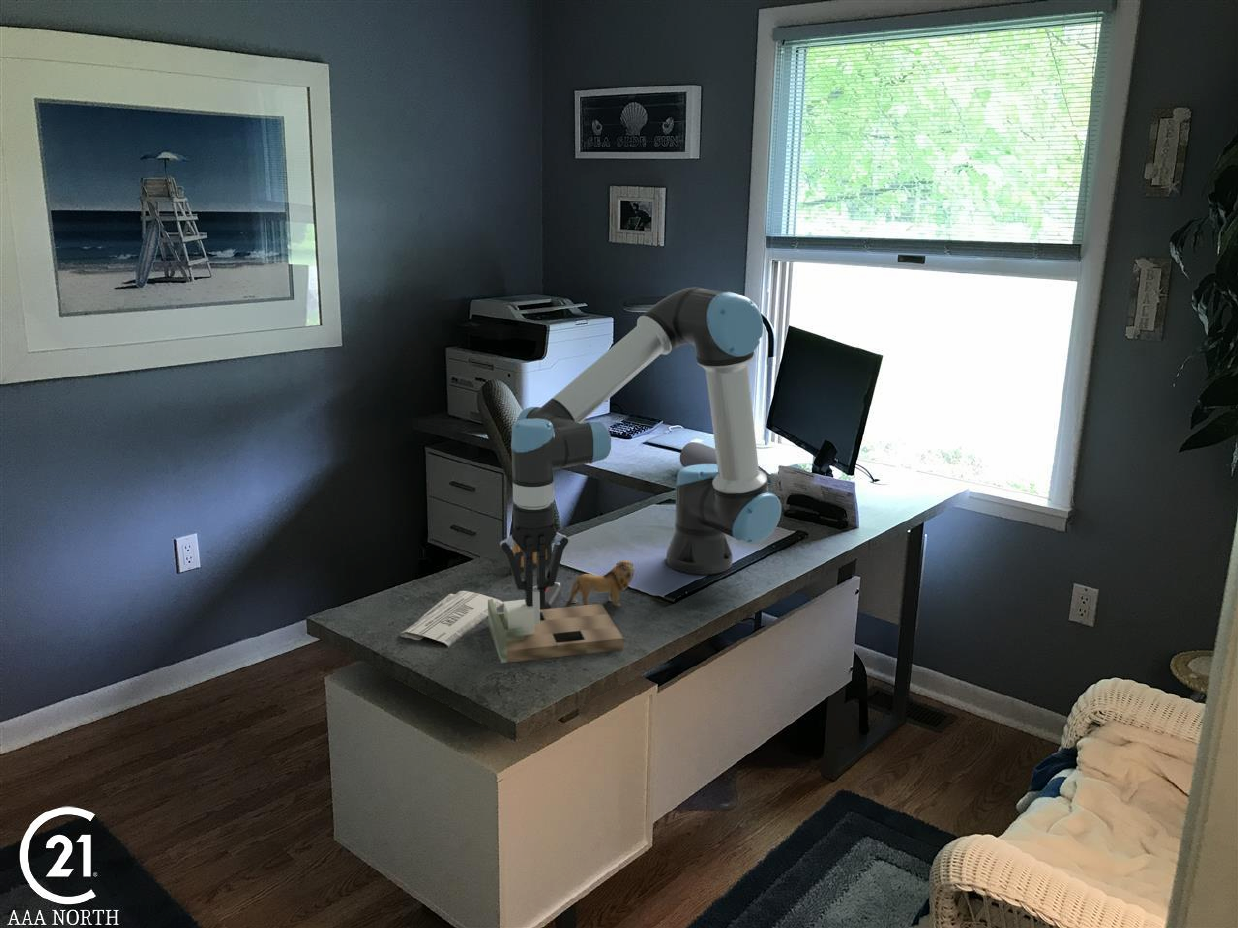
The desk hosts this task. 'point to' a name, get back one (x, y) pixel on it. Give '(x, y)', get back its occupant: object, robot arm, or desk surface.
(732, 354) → the robot arm
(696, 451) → the grey long tapered piece
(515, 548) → the ammunition clip
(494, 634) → the trap deck
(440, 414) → the desk surface
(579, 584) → the lion figurine
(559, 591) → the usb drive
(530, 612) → the cream block
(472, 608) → the newspaper
